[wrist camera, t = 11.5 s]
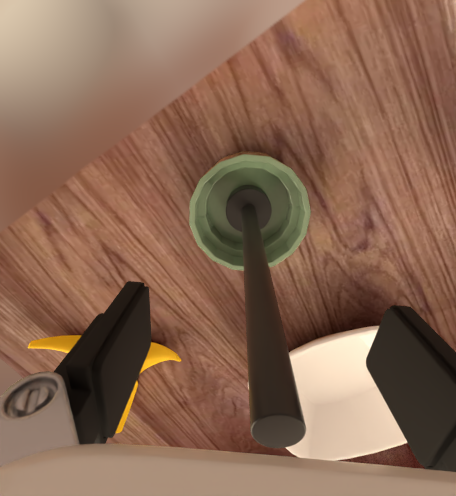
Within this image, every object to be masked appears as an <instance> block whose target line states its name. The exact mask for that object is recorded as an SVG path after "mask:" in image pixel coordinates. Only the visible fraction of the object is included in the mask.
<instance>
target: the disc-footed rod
mask: <svg viewBox="0 0 456 496" xmlns="http://www.w3.org/2000/svg"><path fill="white" fill-rule="evenodd" d="M271 213H272V207H271V203H270V201H269V199H268V196H267V195H266V193H265V192H264V191H263V190H262V189H261V188H259V187H257V186H254V185H243V186H240V187H238V188H236V189H235V190H234V191H233V192H232V193H231V194H230V196H229V198H228V200H227V205H226V217H227V220H228V222H229V223H230V225H231V226H232V227H233V228H235V229H236V230H238V231H240V232H242V240H243V263H244V287H245V311H246V334H247V358H248V382H249V406H250V429H251V434H252V436H253V438H254V439H255V440H256V441H257V442H258V443H260V444H261V445H264V446H267V447H271V448H285V447H289V446H292V445H295V444H297V443H298V442H300V441H301V440H302V439H303V438H304V436H305V433H306V425H305V421H304V416H303V412H302V408H301V403H300V399H299V395H298V390H297V386H296V382H295V377H294V373H293V369H292V364H291V360H290V356H289V351H288V347H287V343H286V338H285V334H284V330H283V325H282V321H281V317H280V312H279V308H278V304H277V299H276V295H275V291H274V287H273V282H272V278H271V274H270V269H269V265H268V261H267V256H266V252H265V248H264V243H263V239H262V235H261V229H262V228H263V227H265V226H266V224H267V223H268V222H269V220H270V217H271Z"/></svg>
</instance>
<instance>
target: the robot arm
mask: <svg viewBox="0 0 456 496" xmlns="http://www.w3.org/2000/svg"><path fill="white" fill-rule="evenodd" d="M150 346H151V322H150V301H149V288H148V287H145V286H144V283H142V282H131V281H129V282H127V283H126V284H125V286H124V287H123V288H122V290H121V291H120V293H119V294H118V295H117V297H116V298H115V299H114V301H113V302H112V303H111V305H110V306H109V307H108V309H107V310H106V311H105V313H104V314H103V313H101V314H99V315H98V316H97V317H96V318H95V319H94V320H93V322H92V323H91V324H90V326H89V327H88V328H87V329H86V331H85V332H84V333H83V335H82V336H81V337H80V339H79V340H78V341H77V342H76V344H75V345H74V346H73V348H72V349H71V350H70V352H69V353H68V354H67V355H66V357H65V358H64V359H63V361H62V362H61V363H60V365H59V366H58V367H57V368H56V370H55V371H54V372H49V371H47V372H39V373H35V374H32V375H29V376H27V377H25V378H23V379H21V380H19V381H17V382H16V383H15V384H13V385H12V386H10V387H9V388H8V389H7V390H6V391H5V392H4V393H3V394H2V396H1V397H0V496H456V352H455V351H454V350H453V349H452V348H451V347H450V346H449V345H448V344H447V343H446V342H445V341H444V340H443V339H442V338H441V337H440V336H439V335H438V334H437V333H436V332H435V331H434V330H433V329H432V328H431V327H430V326H429V325H428V324H427V323H426V322H425V321H424V320H423V319H422V318H421V317H420V316H419V315H418V314H417V313H416V312H415V311H414V310H413V309H412V308H411V307H407V306H396V305H394V306H391V307H390V309H387V310H386V311H385V314H384V316H383V319H382V321H381V323H380V326H379V328H378V331H377V333H376V336H375V338H374V341H373V343H372V346H371V348H370V350H369V353H368V355H367V358H366V367H367V369H368V371H369V373H370V375H371V377H372V378H373V380H374V382H375V384H376V386H377V388H378V389H379V391H380V393H381V395H382V397H383V398H384V400H385V402H386V404H387V406H388V408H389V409H390V411H391V413H392V415H393V417H394V419H395V420H396V422H397V424H398V426H399V428H400V430H401V431H402V433H403V435H404V437H405V439H406V440H407V442H408V444H409V446H410V448H411V450H412V451H413V453H414V455H415V457H416V459H417V460H418V462H419V463H420V464H421V465H423V466H424V467H425V469H418V468H408V467H397V466H387V465H376V464H366V463H355V462H343V461H332V460H321V459H310V458H299V457H287V456H276V455H265V454H253V453H241V452H229V451H217V450H205V449H193V448H181V447H165V446H150V445H134V444H105V443H106V441H107V438H108V437H110V438H112V437H113V436H114V434H115V432H116V430H117V428H118V425H119V423H120V420H121V418H122V415H123V413H124V410H125V408H126V406H127V403H128V401H129V398H130V396H131V393H132V391H133V388H134V386H135V384H136V381H137V379H138V376H139V374H140V371H141V369H142V366H143V364H144V362H145V359H146V357H147V354H148V352H149V349H150Z"/></svg>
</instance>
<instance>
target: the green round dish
mask: <svg viewBox="0 0 456 496" xmlns="http://www.w3.org/2000/svg"><path fill="white" fill-rule="evenodd" d="M243 185H254V186H257V187H259V188H261V189H262V190H263V191H264V192H265V193H266V195H267V196H268V199H269V201H270V203H271V207H272V213H271V217H270V220H269V222H268V223H267V224H266V226H265V227H263V228H262V229H261V235H262V239H263V243H264V248H265V252H266V256H267V261H268V265H269V267H272V266H275V265H277V264H278V263H280V262H281V261H283V260H284V259H285V258H287V257H288V256H290V255H291V254H293V253H294V251H295V250H296V248H297V247H298V246H299V244H300V243H301V241H302V240H303V238H304V237H305V235H306V232H307V228H308V223H309V219H310V214H311V210H310V205H309V199H308V194H307V190H306V188H305V186H304V185H303V183H302V182H301V181H300V179H299V178H298V177H297V175H296V174H295V172H294V171H293V170H292V169H291V168H290V167H288V166H287V165H285V164H284V163H282V162H280V161H279V160H277V159H275V158H273V157H271V156H270V155H268V154H266V153H260V152H249V151H241V152H238V153H235V154H232V155H229V156H226V157H223V158H221V159H220V160H219V161H218V162H217V163H216V164H214V165H213V166H212V167H211V168H210V169H209V170H208V171H207V172H206V173H205V174H204V175H203V176H202V178H201V179H200V180H199V182H198V185H197V187H196V189H195V191H194V193H193V195H192V198H191V200H190V218H189V224H190V227H191V229H192V232H193V234H194V237H195V240H196V242H197V244H198V246H199V247H200V248H201V249H202V250H203V251H204V252H205V253H206V254H207V255H208V256H209V257H210V258H211V259H212V260H213V261H215V262H217V263H219V264H222V265H224V266H226V267H228V268H230V269H233V270H244V263H243V240H242V232H240V231H238V230H236V229H235V228H233V227H232V226H231V225H230V223H229V222H228V220H227V217H226V205H227V200H228V198H229V196H230V194H231V193H232V192H233V191H234V190H235V189H236V188H238V187H240V186H243Z"/></svg>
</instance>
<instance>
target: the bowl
mask: <svg viewBox="0 0 456 496" xmlns="http://www.w3.org/2000/svg"><path fill="white" fill-rule="evenodd" d="M378 328H379V326H370V327H364V328H359V329H354V330H349V331H344V332H339V333H335V334H330V335H327V336H324V337H320V338H317V339H315V340H312V341H310V342H308V343H306V344H304V345H302V346H300V347H298V348H296V349H294V350H292V351H290V352H289V356H290V360H291V364H292V369H293V373H294V377H295V382H296V386H297V390H298V395H299V399H300V403H301V408H302V412H303V416H304V421H305V425H306V433H305V436H304V438H303V439H302V440H301V441H300V442H298V443H297V444H295V445H292V446H289V447H285V448H286V449H288V450H289V451H290V452H291V453H292V454H294V455H296V456H297V457H299V458H310V459H321V460H332V461H335V460H342V459H349V458H353V457H358V456H363V455H367V454H372V453H376V452H379V451H383V450H386V449H389V448H392V447H396V446H399V445H402V444H405V443H407V440H406V439H405V437H404V435H403V433H402V431H401V430H400V428H399V426H398V424H397V422H396V420H395V419H394V417H393V415H392V413H391V411H390V409H389V408H388V406H387V404H386V402H385V400H384V398H383V397H382V395H381V393H380V391H379V389H378V388H377V386H376V384H375V382H374V380H373V378H372V377H371V375H370V373H369V371H368V369H367V367H366V358H367V355H368V353H369V350H370V348H371V346H372V343H373V341H374V338H375V336H376V333H377V331H378ZM248 389H249V382H248Z"/></svg>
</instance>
